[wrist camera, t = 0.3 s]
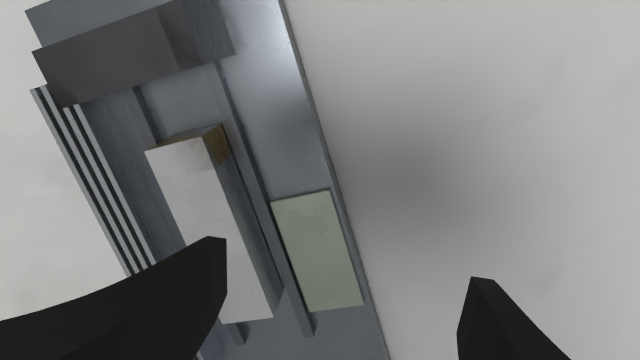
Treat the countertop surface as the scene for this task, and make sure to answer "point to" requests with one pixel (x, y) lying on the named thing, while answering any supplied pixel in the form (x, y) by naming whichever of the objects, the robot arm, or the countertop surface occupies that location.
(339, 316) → the heatsink base
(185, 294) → the robot arm
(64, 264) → the countertop surface
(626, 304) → the countertop surface
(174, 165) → the rectangular block
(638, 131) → the countertop surface
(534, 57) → the countertop surface
